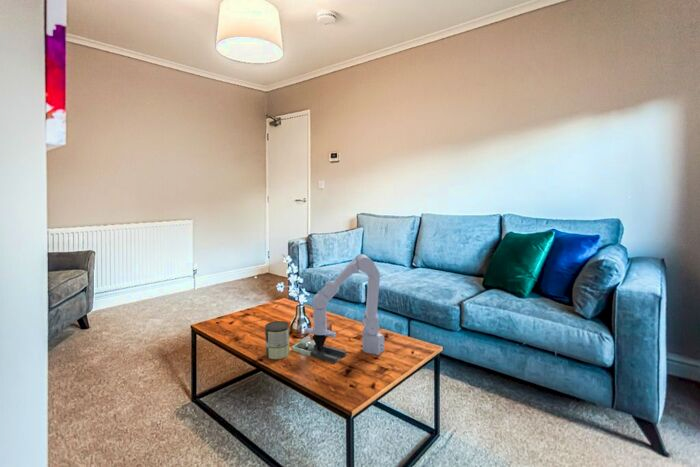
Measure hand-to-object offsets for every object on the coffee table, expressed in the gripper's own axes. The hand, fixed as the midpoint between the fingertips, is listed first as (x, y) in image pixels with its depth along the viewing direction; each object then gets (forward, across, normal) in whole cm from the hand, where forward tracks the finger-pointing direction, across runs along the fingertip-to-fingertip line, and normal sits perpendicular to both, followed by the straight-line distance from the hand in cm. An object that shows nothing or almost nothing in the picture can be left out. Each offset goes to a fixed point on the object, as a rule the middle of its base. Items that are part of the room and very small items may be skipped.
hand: (320, 350), depth 163 cm
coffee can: (+2, +17, +8) cm, 19 cm away
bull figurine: (+2, +6, -16) cm, 18 cm away
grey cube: (+1, +4, -2) cm, 5 cm away
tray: (+2, +7, -2) cm, 8 cm away
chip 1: (0, +10, -3) cm, 11 cm away
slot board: (+2, -4, +1) cm, 5 cm away
